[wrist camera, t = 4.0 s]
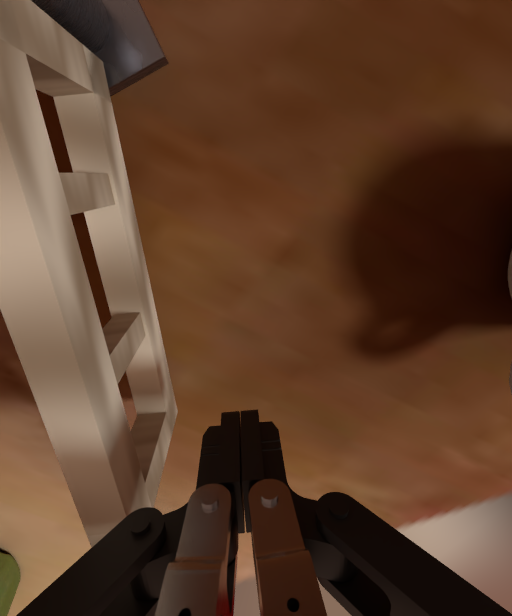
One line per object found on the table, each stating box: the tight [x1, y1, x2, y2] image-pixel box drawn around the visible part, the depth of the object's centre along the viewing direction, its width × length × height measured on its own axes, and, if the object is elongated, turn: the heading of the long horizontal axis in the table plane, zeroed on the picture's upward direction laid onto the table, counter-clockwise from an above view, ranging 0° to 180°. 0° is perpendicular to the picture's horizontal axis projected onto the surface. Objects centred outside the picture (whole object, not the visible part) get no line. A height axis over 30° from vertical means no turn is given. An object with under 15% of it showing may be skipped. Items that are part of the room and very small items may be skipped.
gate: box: [0, 0, 178, 547], centre depth 13 cm, size 17×2×8 cm, turn 6°
